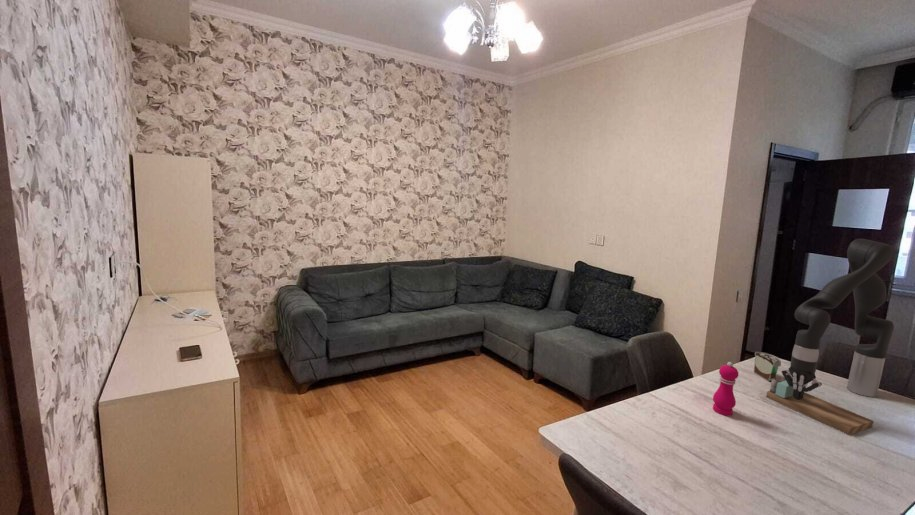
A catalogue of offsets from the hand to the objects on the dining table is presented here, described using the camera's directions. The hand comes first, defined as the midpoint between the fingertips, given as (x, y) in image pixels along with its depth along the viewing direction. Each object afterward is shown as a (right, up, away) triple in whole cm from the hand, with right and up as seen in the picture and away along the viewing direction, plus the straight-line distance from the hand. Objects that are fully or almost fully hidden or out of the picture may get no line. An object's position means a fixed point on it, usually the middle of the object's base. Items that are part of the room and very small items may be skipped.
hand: (797, 398), depth 156 cm
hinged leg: (+2, 0, +6) cm, 6 cm away
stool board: (+6, -4, -2) cm, 7 cm away
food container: (+9, 0, +26) cm, 28 cm away
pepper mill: (-33, -3, -4) cm, 33 cm away
